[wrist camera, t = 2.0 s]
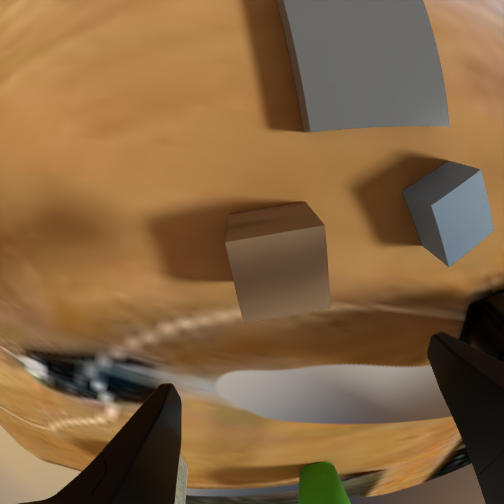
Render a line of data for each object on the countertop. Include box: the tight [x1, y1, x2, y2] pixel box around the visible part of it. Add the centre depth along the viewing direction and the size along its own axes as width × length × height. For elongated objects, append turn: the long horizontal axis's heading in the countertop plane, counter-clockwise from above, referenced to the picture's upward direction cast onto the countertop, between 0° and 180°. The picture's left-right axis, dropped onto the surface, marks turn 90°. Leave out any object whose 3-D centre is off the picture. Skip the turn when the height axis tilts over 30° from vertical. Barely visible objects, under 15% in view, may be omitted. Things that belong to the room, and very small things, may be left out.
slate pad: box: [277, 0, 450, 132], centre depth 14 cm, size 10×10×2 cm
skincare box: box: [175, 454, 188, 504], centre depth 26 cm, size 6×4×12 cm
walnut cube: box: [225, 202, 330, 323], centre depth 18 cm, size 5×5×5 cm
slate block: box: [402, 161, 494, 267], centre depth 17 cm, size 5×5×4 cm
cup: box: [298, 462, 351, 504], centre depth 29 cm, size 9×9×11 cm
